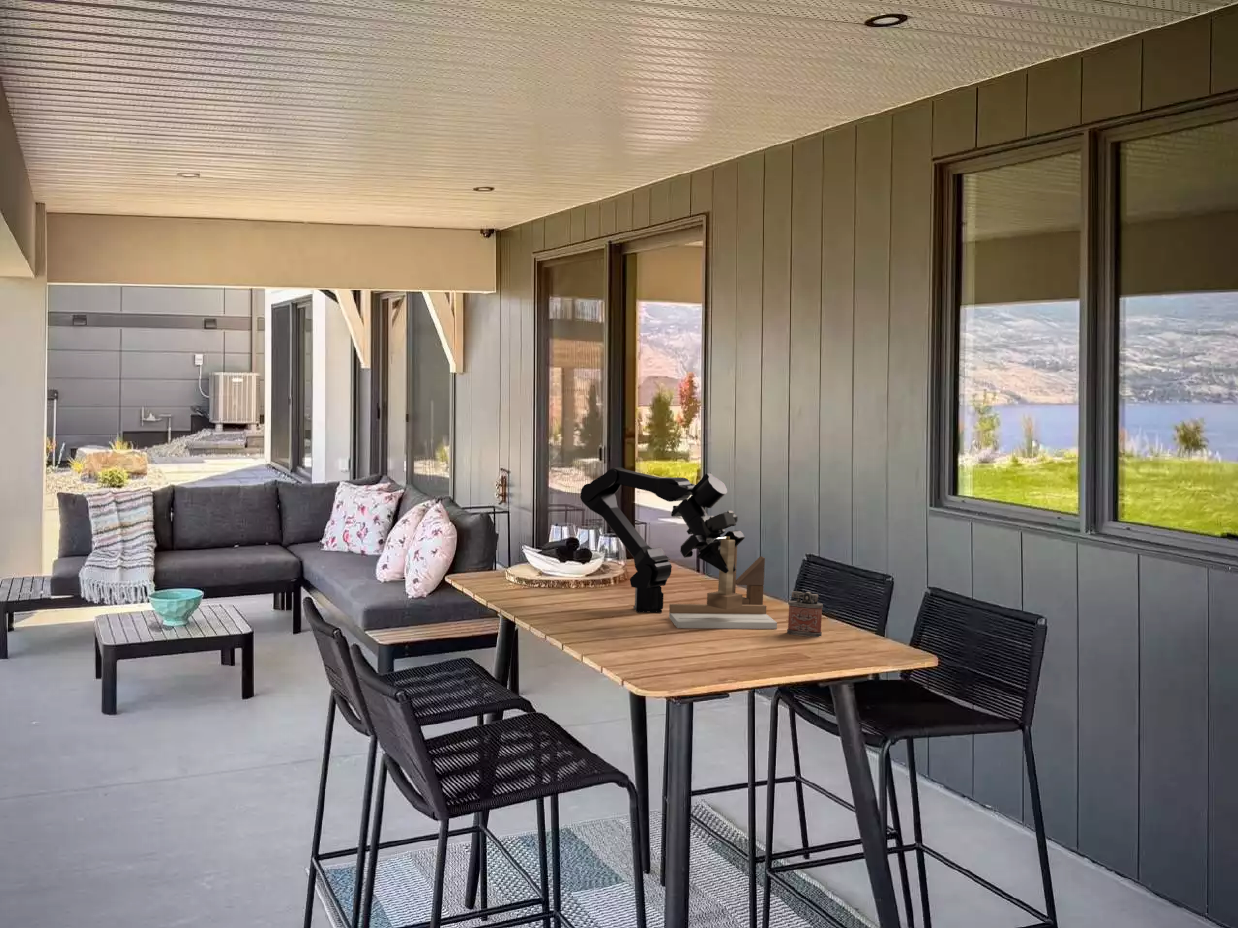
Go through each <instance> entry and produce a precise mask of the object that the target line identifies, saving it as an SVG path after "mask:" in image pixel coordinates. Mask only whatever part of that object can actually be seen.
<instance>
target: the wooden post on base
mask: <svg viewBox="0 0 1238 928" xmlns="http://www.w3.org/2000/svg"><path fill="white" fill-rule="evenodd" d="M734 550H735V540H730V537H729V536H727V537H726V539H722V540H721V547H720V554H721V556H722V558H723V560H724V561H725V563H726V565H727V567H728V570H729V571H728V572H727V573H724V572H722V571H721V570H719V569H718V583H717V584H718V585H717V587H718V588H717V589H718V590H717V591H711V592H707V593H706V604H707V606H712V607H717V608H721V609H726V610H727V609H733V608H738V607H742V597H743V596H744V595H743V594H742V593H736V592H735V593H733V592H732V586H733V567H734Z"/></svg>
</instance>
